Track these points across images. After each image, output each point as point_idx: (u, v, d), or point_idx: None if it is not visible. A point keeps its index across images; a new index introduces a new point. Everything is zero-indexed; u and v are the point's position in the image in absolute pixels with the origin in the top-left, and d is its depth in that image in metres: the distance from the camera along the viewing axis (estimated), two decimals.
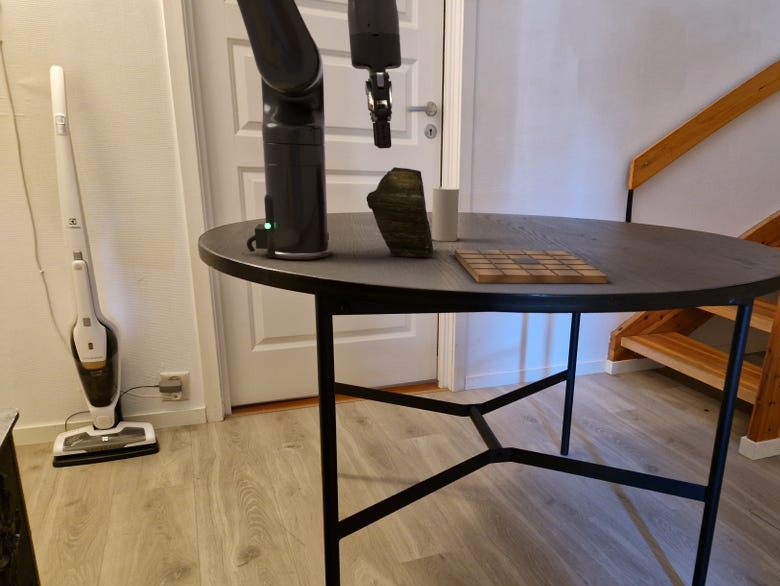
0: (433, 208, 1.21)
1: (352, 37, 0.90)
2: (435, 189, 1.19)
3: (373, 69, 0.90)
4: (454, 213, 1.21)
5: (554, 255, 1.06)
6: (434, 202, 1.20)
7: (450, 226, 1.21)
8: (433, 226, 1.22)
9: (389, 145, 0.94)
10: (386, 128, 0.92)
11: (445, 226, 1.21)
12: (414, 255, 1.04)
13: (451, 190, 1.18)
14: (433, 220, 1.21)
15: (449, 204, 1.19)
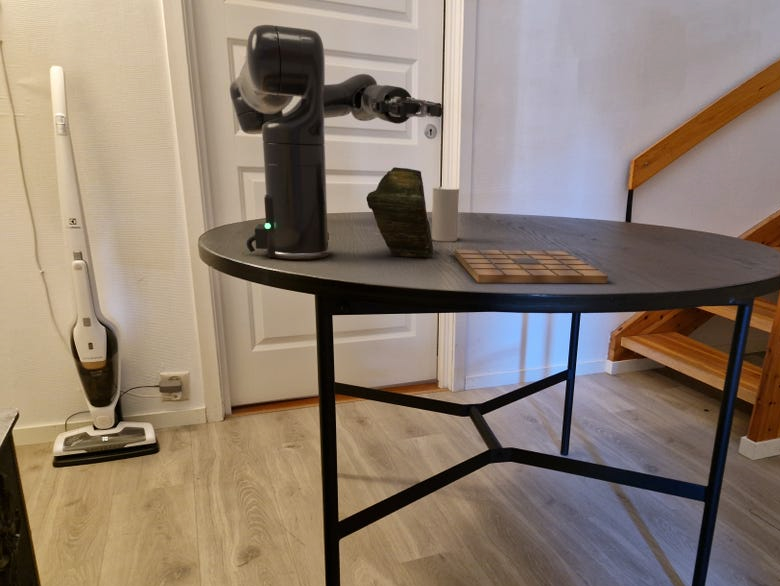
0: (433, 208, 1.21)
1: (384, 119, 1.39)
2: (435, 189, 1.19)
3: None
4: (454, 213, 1.21)
5: (554, 255, 1.06)
6: (434, 202, 1.20)
7: (450, 226, 1.21)
8: (433, 226, 1.22)
9: (400, 105, 1.24)
10: (392, 106, 1.26)
11: (445, 226, 1.21)
12: (414, 255, 1.04)
13: (451, 190, 1.18)
14: (433, 220, 1.21)
15: (449, 204, 1.19)
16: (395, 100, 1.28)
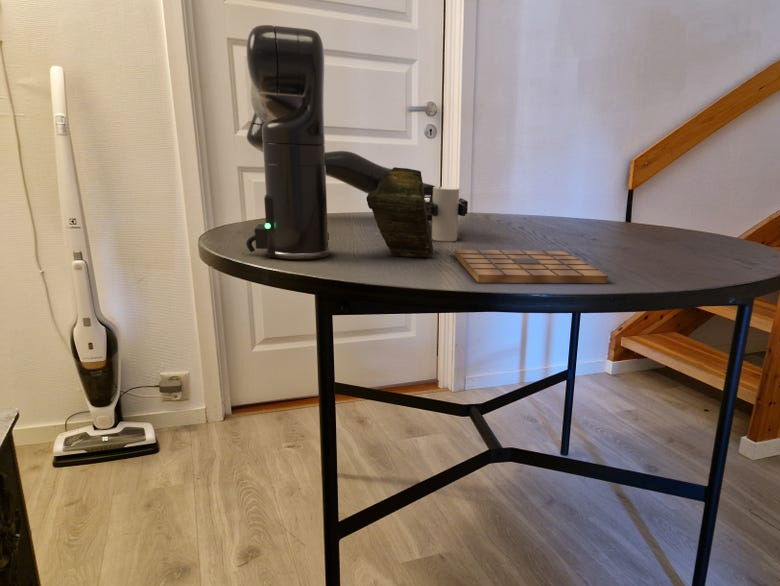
0: None
1: None
2: (435, 189, 1.19)
3: None
4: (454, 213, 1.21)
5: (554, 255, 1.06)
6: (434, 202, 1.20)
7: (450, 226, 1.21)
8: (433, 226, 1.22)
9: (433, 206, 1.18)
10: (426, 206, 1.20)
11: (445, 226, 1.21)
12: (414, 255, 1.04)
13: (451, 190, 1.18)
14: (433, 220, 1.21)
15: (449, 204, 1.19)
16: (428, 199, 1.23)
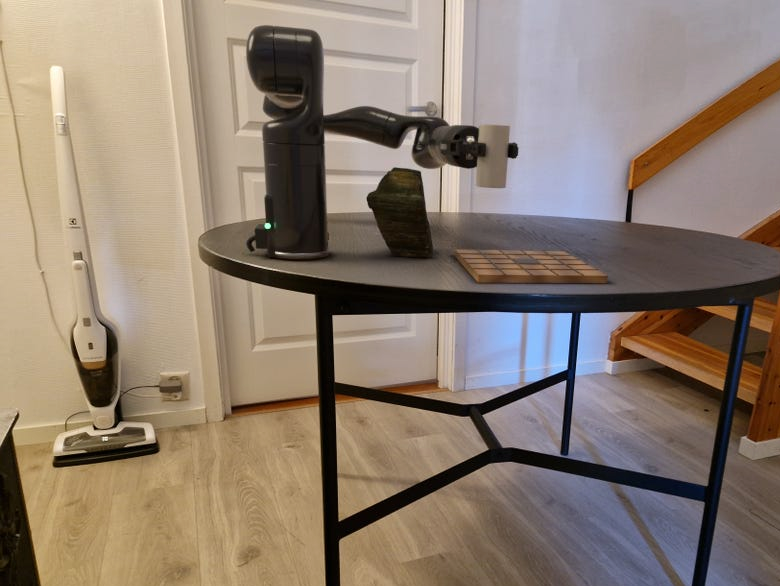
0: None
1: (452, 164, 1.16)
2: (482, 125, 1.01)
3: None
4: (504, 154, 1.03)
5: (554, 255, 1.06)
6: (481, 141, 1.02)
7: (499, 169, 1.03)
8: (479, 170, 1.04)
9: (481, 144, 1.01)
10: (471, 146, 1.03)
11: (493, 170, 1.03)
12: (414, 255, 1.04)
13: (501, 126, 1.01)
14: (479, 163, 1.04)
15: (499, 143, 1.02)
16: (472, 139, 1.06)
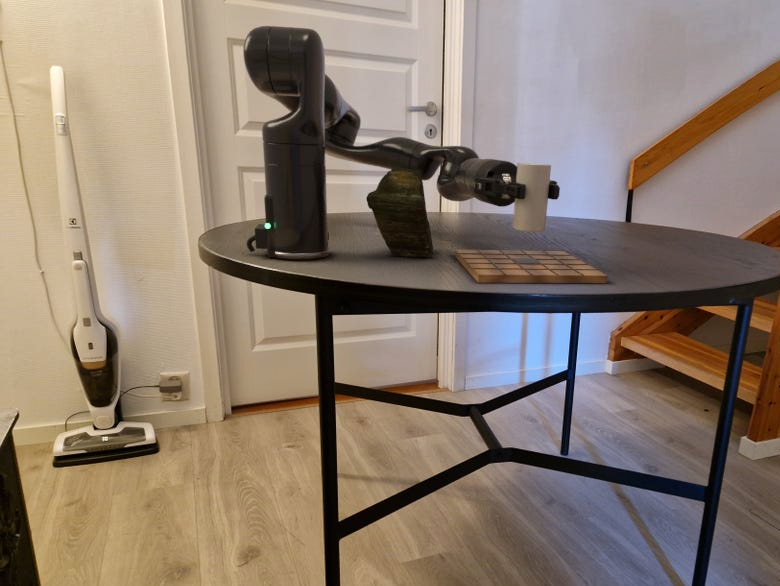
0: None
1: (484, 201, 1.08)
2: (522, 165, 0.93)
3: None
4: (544, 196, 0.95)
5: (554, 255, 1.06)
6: (519, 181, 0.94)
7: (539, 212, 0.95)
8: (517, 212, 0.96)
9: (520, 186, 0.93)
10: (509, 186, 0.95)
11: (533, 212, 0.95)
12: (414, 255, 1.04)
13: (543, 166, 0.93)
14: (517, 205, 0.96)
15: (540, 184, 0.93)
16: (509, 178, 0.97)
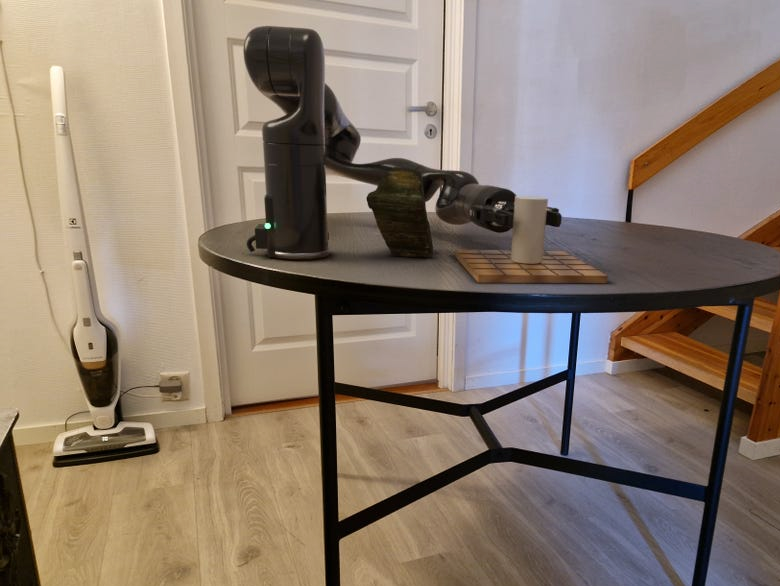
0: (515, 222, 0.97)
1: (483, 227, 1.09)
2: (519, 199, 0.95)
3: None
4: (542, 229, 0.96)
5: (554, 255, 1.06)
6: (517, 215, 0.96)
7: (536, 245, 0.97)
8: (514, 245, 0.98)
9: (508, 215, 0.94)
10: (497, 215, 0.96)
11: (530, 245, 0.97)
12: (414, 255, 1.04)
13: (540, 200, 0.94)
14: (514, 237, 0.97)
15: (537, 217, 0.95)
16: (500, 207, 0.99)
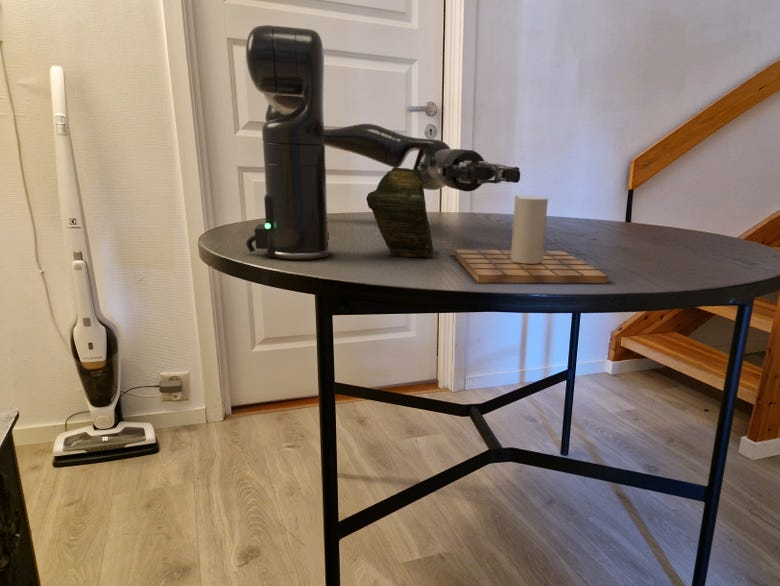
0: (515, 222, 0.97)
1: (452, 187, 1.19)
2: (519, 199, 0.95)
3: None
4: (542, 229, 0.96)
5: (554, 255, 1.06)
6: (517, 215, 0.96)
7: (536, 245, 0.97)
8: (514, 245, 0.98)
9: (470, 169, 1.04)
10: (460, 170, 1.06)
11: (530, 245, 0.97)
12: (414, 255, 1.04)
13: (540, 200, 0.94)
14: (514, 237, 0.97)
15: (537, 217, 0.95)
16: (465, 164, 1.09)
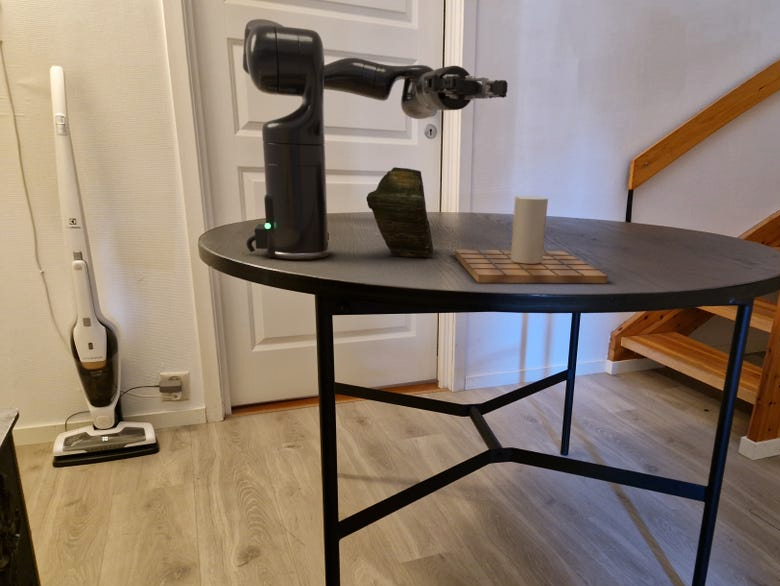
0: (515, 222, 0.97)
1: (439, 106, 1.17)
2: (519, 199, 0.95)
3: (438, 90, 1.11)
4: (542, 229, 0.96)
5: (554, 255, 1.06)
6: (517, 215, 0.96)
7: (536, 245, 0.97)
8: (514, 245, 0.98)
9: (455, 77, 1.02)
10: (446, 80, 1.03)
11: (530, 245, 0.97)
12: (414, 255, 1.04)
13: (540, 200, 0.94)
14: (514, 237, 0.97)
15: (537, 217, 0.95)
16: (451, 76, 1.06)
